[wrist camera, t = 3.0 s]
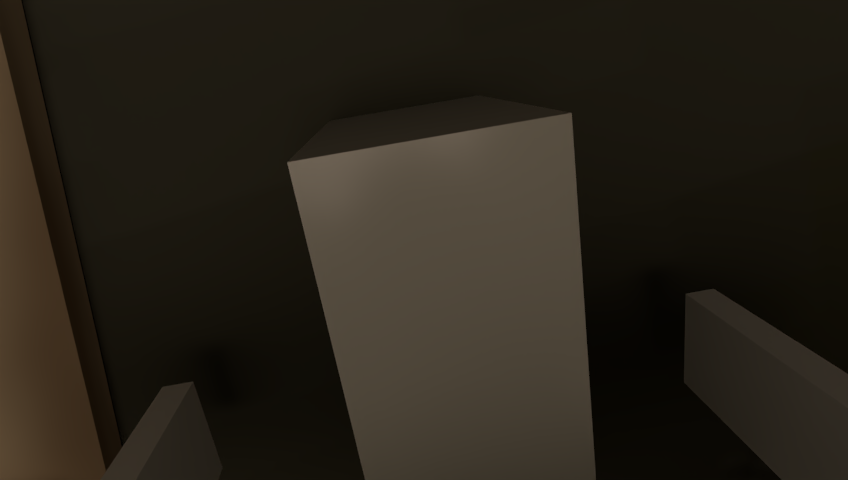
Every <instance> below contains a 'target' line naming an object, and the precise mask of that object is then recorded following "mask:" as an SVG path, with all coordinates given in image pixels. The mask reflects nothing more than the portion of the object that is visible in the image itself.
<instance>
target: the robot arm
mask: <svg viewBox="0 0 848 480" xmlns="http://www.w3.org/2000/svg"><path fill="white" fill-rule="evenodd" d="M684 383H685V384H686V385H687V386H688V387H689V388H690V389H691V390H692V391H693V392H694V393H695V394H696V395H697V396H698V397H699V398H700V399H701V400H702V401H703V402H704V403H705V404H706V405H707V406H708V407H709V408H710V409H711V410H712V411H713V412H714V413H715V414H716V415H717V416H718V417H719V418H720V419H721V420H722V421H723V422H724V423H725V424H726V425H727V426H728V427H729V428H730V429H731V430H732V431H733V432H734V433H735V434H736V435H737V436H738V437H739V438H740V439H741V440H742V441H743V442H744V443H745V444H746V445H747V446H748V447H749V448H750V449H751V450H752V451H753V452H754V453H755V454H756V455H757V456H758V457H759V458H760V459H761V460H762V461H763V462H764V463H765V464H766V465H767V466H768V467H769V468H770V469H771V470H772V471H773V472H774V473H775V474H776V475H777V476H778V477H779V478H780V479H781V480H848V374H847V373H845V372H844V371H842V370H841V369H839V368H838V367H836V366H834V365H833V364H831V363H830V362H828V361H827V360H825V359H823V358H822V357H820V356H819V355H817V354H816V353H814V352H812V351H811V350H809V349H808V348H806V347H805V346H803V345H801V344H800V343H798V342H797V341H795V340H793V339H792V338H790V337H789V336H787V335H786V334H784V333H782V332H781V331H779V330H778V329H776V328H775V327H773V326H771V325H770V324H768V323H767V322H765V321H764V320H762V319H760V318H759V317H757V316H756V315H754V314H753V313H751V312H749V311H748V310H746V309H745V308H743V307H742V306H740V305H738V304H737V303H735V302H734V301H732V300H731V299H729V298H727V297H726V296H724V295H723V294H721V293H719V292H718V291H716V290H715V289H709V290H703V291H698V292H692V293H687V294H686V300H685V348H684ZM221 471H222V465H221V462H220V459H219V456H218V453H217V450H216V447H215V444H214V441H213V438H212V436H211V433H210V430H209V427H208V424H207V421H206V418H205V415H204V412H203V409H202V406H201V403H200V400H199V397H198V394H197V391H196V389H195V386H194V383H193V382H187V383H182V384H176V385H170V386H165V387H162V388H161V390H160V391H159V393H158V394H157V396H156V397H155V399H154V400H153V402H152V403H151V405H150V406H149V408H148V409H147V411H146V412H145V414H144V415H143V417H142V418H141V420H140V421H139V423H138V424H137V426H136V427H135V429H134V430H133V432H132V433H131V435H130V436H129V438H128V439H127V441H126V442H125V444H124V445H123V447H122V448H121V450H120V451H119V453H118V454H117V456H116V457H115V459H114V460H113V462H112V463H111V465H110V466H109V468H108V469H107V471H106V472H105V474H104V475H103V477H102V478H101V480H218V479H219V476H220V473H221Z"/></svg>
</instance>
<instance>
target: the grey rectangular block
mask: <svg viewBox="0 0 848 480" xmlns="http://www.w3.org/2000/svg"><path fill="white" fill-rule="evenodd" d="M287 164H288V168H289V172H290V176H291V180H292V184H293V188H294V192H295V196H296V200H297V204H298V208H299V212H300V217H301V221H302V225H303V229H304V233H305V237H306V241H307V245H308V249H309V253H310V257H311V261H312V265H313V270H314V274H315V278H316V282H317V286H318V290H319V294H320V298H321V302H322V306H323V310H324V314H325V318H326V322H327V327H328V331H329V335H330V339H331V343H332V347H333V351H334V355H335V359H336V363H337V367H338V371H339V375H340V380H341V384H342V388H343V392H344V396H345V400H346V404H347V408H348V412H349V416H350V420H351V424H352V428H353V432H354V437H355V441H356V445H357V449H358V453H359V457H360V461H361V465H362V469H363V473H364V477H365V480H596V472H595V457H594V442H593V427H592V412H591V397H590V382H589V367H588V352H587V337H586V322H585V307H584V292H583V277H582V262H581V247H580V232H579V217H578V202H577V187H576V172H575V157H574V142H573V127H572V113H570V112H564V111H559V110H554V109H548V108H543V107H538V106H532V105H527V104H522V103H516V102H511V101H506V100H500V99H495V98H490V97H484V96H479V95H478V96H472V97H466V98H460V99H454V100H448V101H443V102H437V103H431V104H425V105H419V106H413V107H407V108H402V109H396V110H390V111H384V112H378V113H372V114H367V115H361V116H355V117H349V118H343V119H337V120H332V121H329V122H328V123H327V124H326V125H325V126H324V127H323V128H322V129H321V130H320V131H319V132H318V133H317V134H316V135H315V136H314V137H313V138H312V139H310V140H309V141H308V142H307V143H306V144H305V145H304V146H303V147H302V148H301V149H300V150H299V151H298V152H297V153H296V154H295V155H294V156H293V157H292V158H291V159H290V160H289V161H288V162H287Z"/></svg>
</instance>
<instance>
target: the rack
mask: <svg viewBox="0 0 848 480" xmlns="http://www.w3.org/2000/svg"><path fill="white" fill-rule="evenodd" d="M121 448H122V445H121V441H120V436H119V432H118V427H117V423H116V419H115V414H114V410H113V405H112V401H111V396H110V392H109V387H108V383H107V379H106V374H105V370H104V365H103V361H102V356H101V352H100V347H99V343H98V339H97V334H96V330H95V325H94V321H93V316H92V312H91V308H90V303H89V299H88V294H87V290H86V285H85V281H84V276H83V272H82V268H81V263H80V259H79V254H78V250H77V245H76V241H75V236H74V232H73V228H72V223H71V219H70V214H69V210H68V205H67V201H66V196H65V192H64V188H63V183H62V179H61V174H60V170H59V165H58V161H57V157H56V152H55V148H54V143H53V139H52V134H51V130H50V125H49V121H48V117H47V112H46V108H45V103H44V99H43V94H42V90H41V85H40V81H39V77H38V72H37V68H36V63H35V59H34V54H33V50H32V46H31V41H30V37H29V32H28V28H27V23H26V19H25V14H24V10H23V6H22V1H21V0H0V480H101V478H102V477H103V475H104V474H105V472H106V471H107V469H108V468H109V466H110V465H111V463H112V462H113V460H114V459H115V457H116V456H117V454H118V453H119V451H120V450H121Z"/></svg>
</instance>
